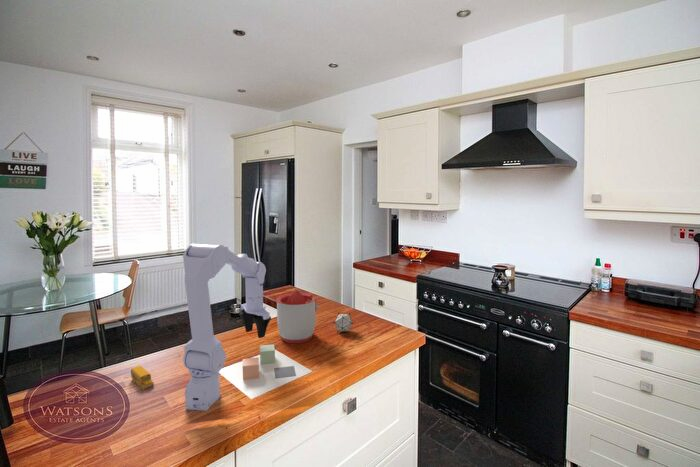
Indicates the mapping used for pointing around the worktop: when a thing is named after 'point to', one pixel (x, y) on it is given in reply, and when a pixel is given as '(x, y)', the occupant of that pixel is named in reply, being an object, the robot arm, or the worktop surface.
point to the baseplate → (265, 375)
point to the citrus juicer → (296, 316)
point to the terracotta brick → (250, 368)
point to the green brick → (267, 354)
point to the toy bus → (141, 377)
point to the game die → (343, 322)
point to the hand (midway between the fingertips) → (255, 334)
